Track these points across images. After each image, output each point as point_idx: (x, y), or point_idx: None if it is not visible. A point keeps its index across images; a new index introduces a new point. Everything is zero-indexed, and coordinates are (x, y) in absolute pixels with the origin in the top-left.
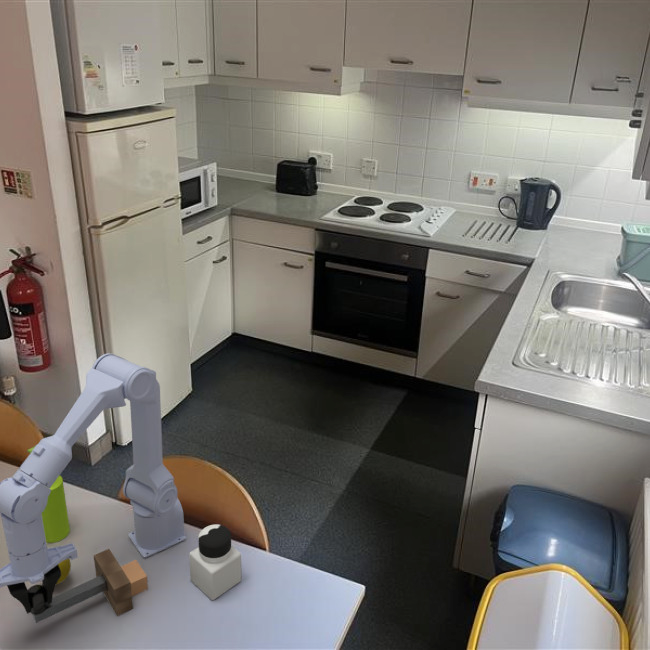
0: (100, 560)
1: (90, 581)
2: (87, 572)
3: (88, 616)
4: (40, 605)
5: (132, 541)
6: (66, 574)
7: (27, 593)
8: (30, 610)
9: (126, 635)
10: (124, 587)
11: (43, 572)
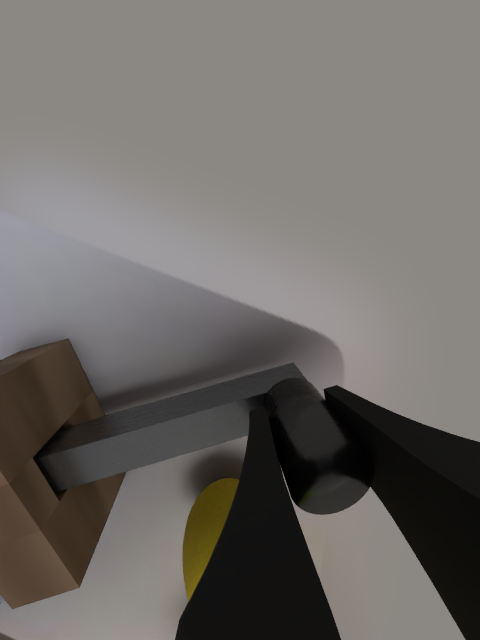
0: (45, 563)
1: (106, 471)
2: (153, 493)
3: (152, 363)
4: (296, 403)
5: None
6: (197, 506)
7: (459, 483)
8: (333, 391)
9: (35, 259)
10: None
11: None
